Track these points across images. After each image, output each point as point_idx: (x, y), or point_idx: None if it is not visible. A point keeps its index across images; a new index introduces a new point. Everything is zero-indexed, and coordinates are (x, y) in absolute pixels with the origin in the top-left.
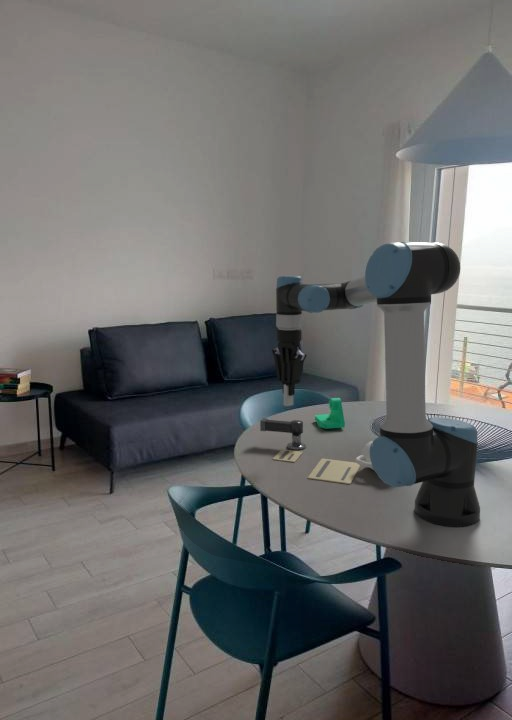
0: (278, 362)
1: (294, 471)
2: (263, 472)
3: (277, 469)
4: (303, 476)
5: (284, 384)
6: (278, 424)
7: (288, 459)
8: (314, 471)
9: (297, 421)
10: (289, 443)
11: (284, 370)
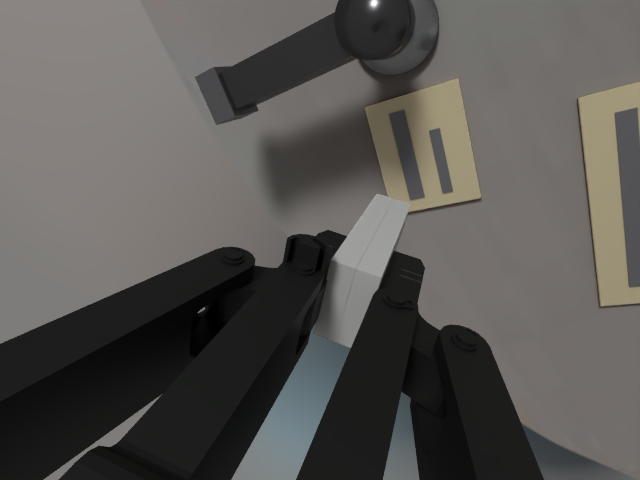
0: (60, 453)
1: (522, 269)
2: (430, 318)
3: (457, 279)
4: (575, 294)
5: (316, 326)
6: (294, 82)
7: (448, 191)
8: (604, 248)
9: (367, 4)
10: None
11: (250, 439)
